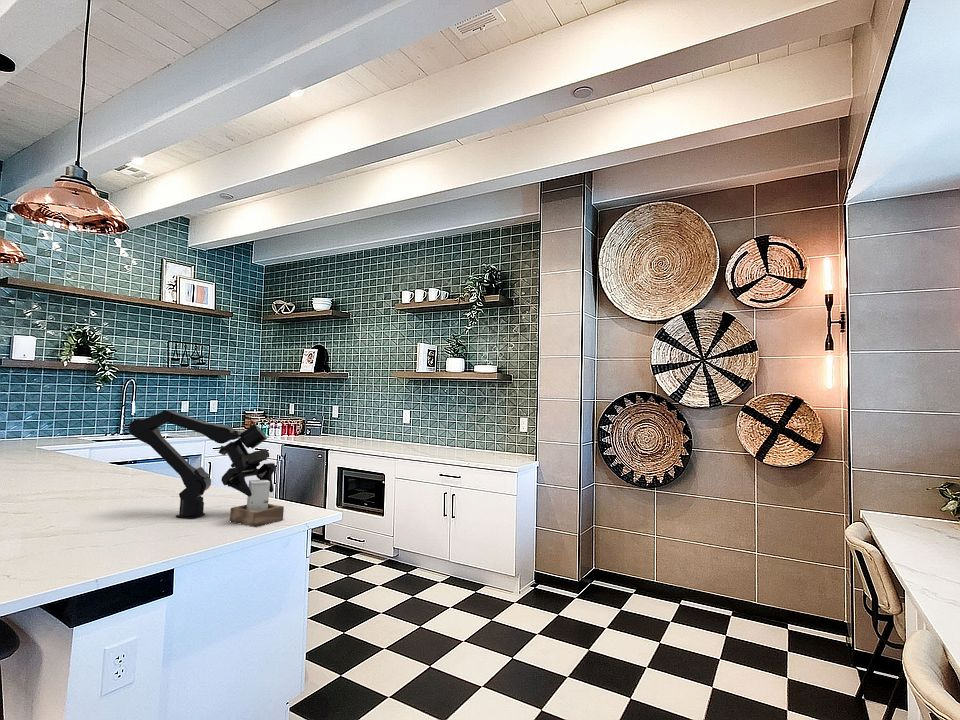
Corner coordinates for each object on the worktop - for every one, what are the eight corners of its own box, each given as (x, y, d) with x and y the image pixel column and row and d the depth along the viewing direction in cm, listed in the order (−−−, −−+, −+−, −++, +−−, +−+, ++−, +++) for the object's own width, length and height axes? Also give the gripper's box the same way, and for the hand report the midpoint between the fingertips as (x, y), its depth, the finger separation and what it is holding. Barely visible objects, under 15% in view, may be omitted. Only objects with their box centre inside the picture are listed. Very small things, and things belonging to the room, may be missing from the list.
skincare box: (248, 520, 175) (250, 482, 176) (245, 517, 179) (248, 480, 180) (267, 518, 178) (270, 481, 179) (264, 515, 182) (267, 479, 183)
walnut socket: (229, 522, 176) (230, 507, 176) (257, 515, 186) (258, 502, 186) (255, 527, 171) (256, 512, 171) (282, 520, 181) (283, 506, 182)
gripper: (230, 443, 173) (253, 481, 168) (274, 439, 190) (296, 474, 185) (211, 465, 176) (233, 504, 171) (256, 460, 193) (277, 495, 188)
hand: (261, 493), depth 178 cm, fingers open, 9 cm apart
